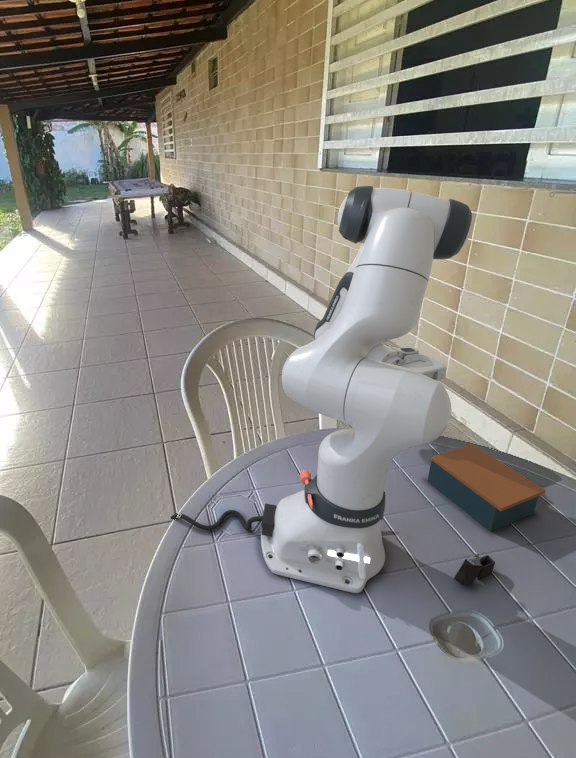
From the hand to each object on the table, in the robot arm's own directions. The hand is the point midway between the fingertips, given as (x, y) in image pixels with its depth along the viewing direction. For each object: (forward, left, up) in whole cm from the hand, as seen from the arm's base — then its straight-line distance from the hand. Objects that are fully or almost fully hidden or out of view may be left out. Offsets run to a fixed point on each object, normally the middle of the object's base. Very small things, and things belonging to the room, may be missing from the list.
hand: (431, 390), depth 95 cm
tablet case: (+7, -13, -18) cm, 23 cm away
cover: (+7, -13, -12) cm, 19 cm away
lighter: (-3, -32, -18) cm, 37 cm away
